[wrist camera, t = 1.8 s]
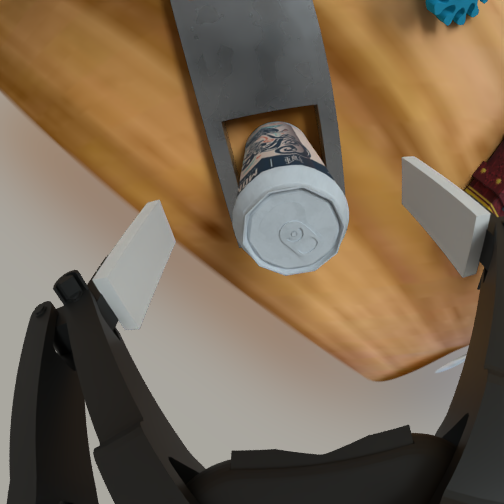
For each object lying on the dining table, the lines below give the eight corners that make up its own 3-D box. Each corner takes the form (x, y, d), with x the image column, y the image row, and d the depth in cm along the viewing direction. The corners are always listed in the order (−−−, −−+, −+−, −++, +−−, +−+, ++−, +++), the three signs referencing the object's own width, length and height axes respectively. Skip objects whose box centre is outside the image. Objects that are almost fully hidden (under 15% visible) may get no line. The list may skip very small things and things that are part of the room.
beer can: (275, 107, 19) (294, 146, 9) (321, 150, 20) (378, 232, 10) (232, 153, 21) (204, 238, 11) (278, 191, 22) (292, 299, 13)
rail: (155, -76, 8) (149, -83, 7) (269, -101, 7) (270, -109, 6) (240, 238, 25) (239, 247, 24) (342, 221, 24) (347, 230, 22)
